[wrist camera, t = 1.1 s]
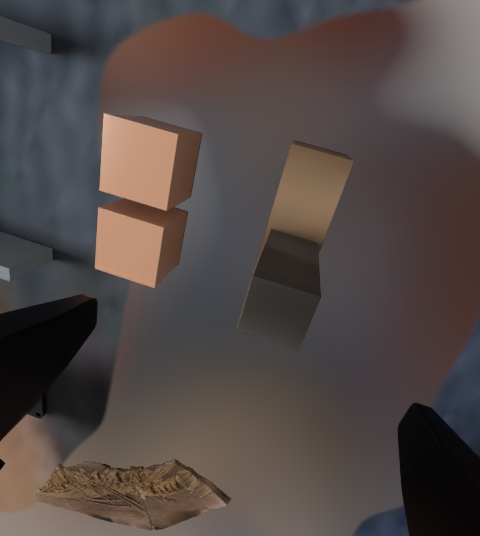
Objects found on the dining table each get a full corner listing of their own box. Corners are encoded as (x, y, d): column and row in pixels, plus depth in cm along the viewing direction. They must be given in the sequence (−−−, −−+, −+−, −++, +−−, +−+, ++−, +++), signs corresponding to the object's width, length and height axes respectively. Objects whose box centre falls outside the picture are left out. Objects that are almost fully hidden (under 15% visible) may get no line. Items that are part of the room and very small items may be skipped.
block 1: (190, 197, 21) (166, 210, 18) (134, 180, 22) (99, 190, 18) (202, 133, 20) (177, 134, 16) (141, 115, 20) (104, 113, 16)
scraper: (287, 311, 23) (273, 426, 14) (247, 298, 24) (208, 404, 15) (345, 154, 19) (379, 179, 10) (295, 140, 19) (281, 151, 10)
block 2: (178, 263, 24) (154, 288, 20) (127, 247, 24) (94, 268, 20) (188, 211, 22) (163, 227, 18) (133, 194, 22) (98, 207, 19)
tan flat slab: (212, 456, 31) (209, 466, 30) (242, 529, 35) (240, 540, 34) (11, 456, 38) (4, 465, 38) (53, 516, 42) (47, 526, 41)
